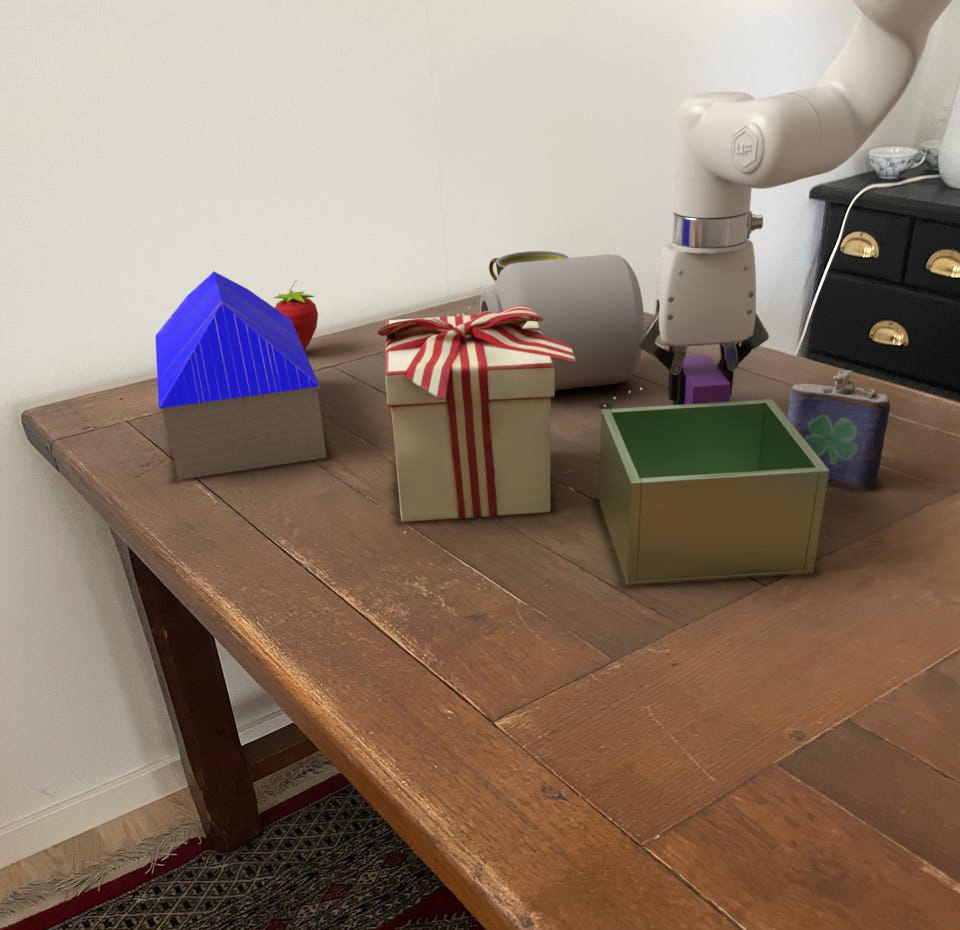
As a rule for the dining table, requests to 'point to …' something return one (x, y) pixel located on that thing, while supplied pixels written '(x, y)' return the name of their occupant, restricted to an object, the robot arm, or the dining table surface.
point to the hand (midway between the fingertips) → (699, 402)
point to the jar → (579, 313)
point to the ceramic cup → (522, 259)
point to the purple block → (704, 381)
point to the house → (235, 384)
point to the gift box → (471, 413)
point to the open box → (709, 492)
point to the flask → (842, 428)
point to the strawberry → (299, 314)
